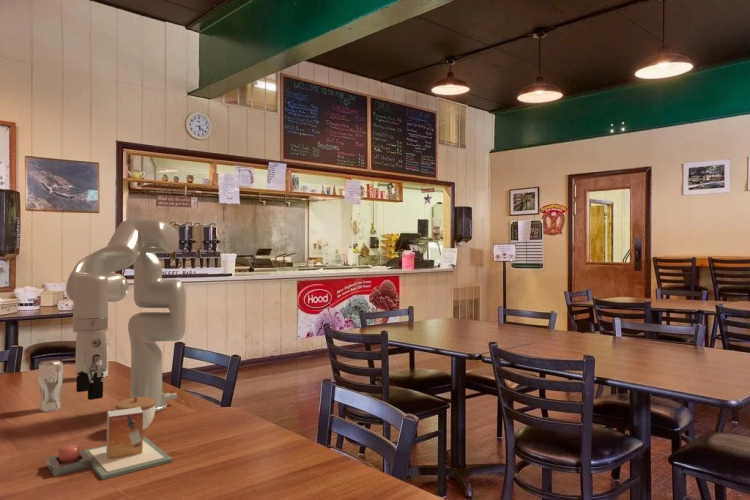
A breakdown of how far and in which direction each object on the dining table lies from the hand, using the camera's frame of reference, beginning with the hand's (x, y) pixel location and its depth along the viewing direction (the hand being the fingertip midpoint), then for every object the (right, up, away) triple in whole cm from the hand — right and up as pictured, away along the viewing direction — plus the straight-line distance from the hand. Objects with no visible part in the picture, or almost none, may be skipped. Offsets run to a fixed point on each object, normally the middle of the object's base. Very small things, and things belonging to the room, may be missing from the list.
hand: (89, 394), depth 131 cm
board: (+7, -17, +4) cm, 19 cm away
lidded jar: (0, -17, +26) cm, 31 cm away
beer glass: (-36, -17, +44) cm, 59 cm away
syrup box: (-42, -16, +86) cm, 97 cm away
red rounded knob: (-4, -15, -2) cm, 16 cm away
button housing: (-4, -17, -2) cm, 17 cm away
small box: (+6, -16, +5) cm, 18 cm away
